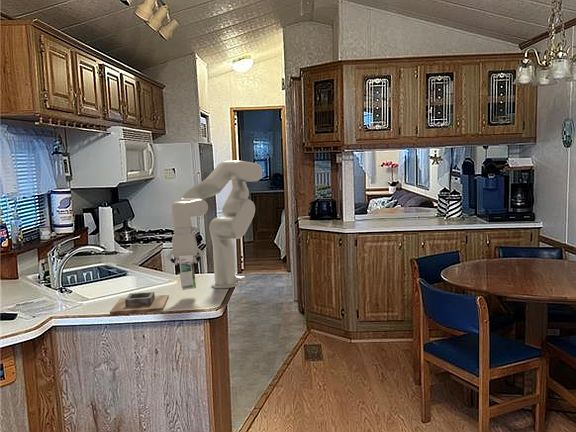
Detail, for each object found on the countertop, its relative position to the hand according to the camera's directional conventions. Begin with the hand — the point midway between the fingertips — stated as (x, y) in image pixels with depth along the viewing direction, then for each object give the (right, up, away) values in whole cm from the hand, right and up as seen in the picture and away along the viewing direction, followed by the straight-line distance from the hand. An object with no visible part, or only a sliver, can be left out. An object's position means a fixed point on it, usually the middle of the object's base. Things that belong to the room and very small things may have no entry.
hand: (187, 272), depth 220 cm
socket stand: (-17, -13, -8) cm, 23 cm away
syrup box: (0, -7, +1) cm, 7 cm away
